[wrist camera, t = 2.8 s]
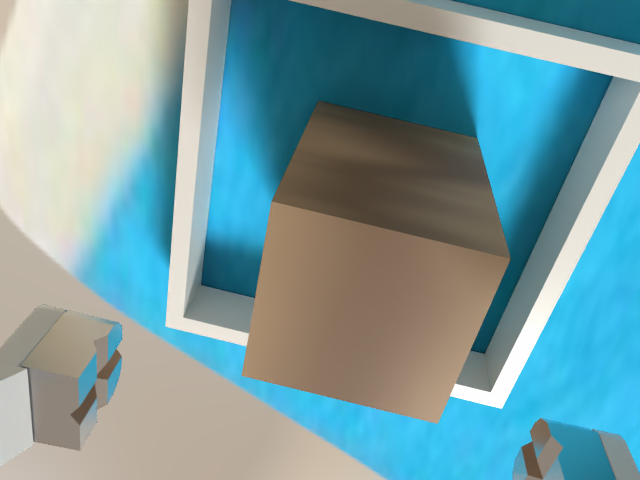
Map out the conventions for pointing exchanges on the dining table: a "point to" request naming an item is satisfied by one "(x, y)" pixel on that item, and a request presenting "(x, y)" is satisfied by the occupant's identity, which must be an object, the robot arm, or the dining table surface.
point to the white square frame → (453, 22)
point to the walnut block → (376, 263)
